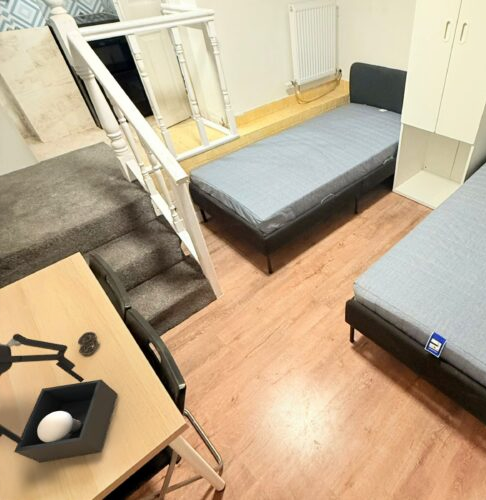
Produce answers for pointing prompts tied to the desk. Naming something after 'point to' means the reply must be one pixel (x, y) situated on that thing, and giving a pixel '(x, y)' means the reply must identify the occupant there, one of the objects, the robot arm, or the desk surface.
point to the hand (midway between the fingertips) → (53, 409)
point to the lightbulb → (57, 426)
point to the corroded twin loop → (87, 343)
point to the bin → (80, 408)
